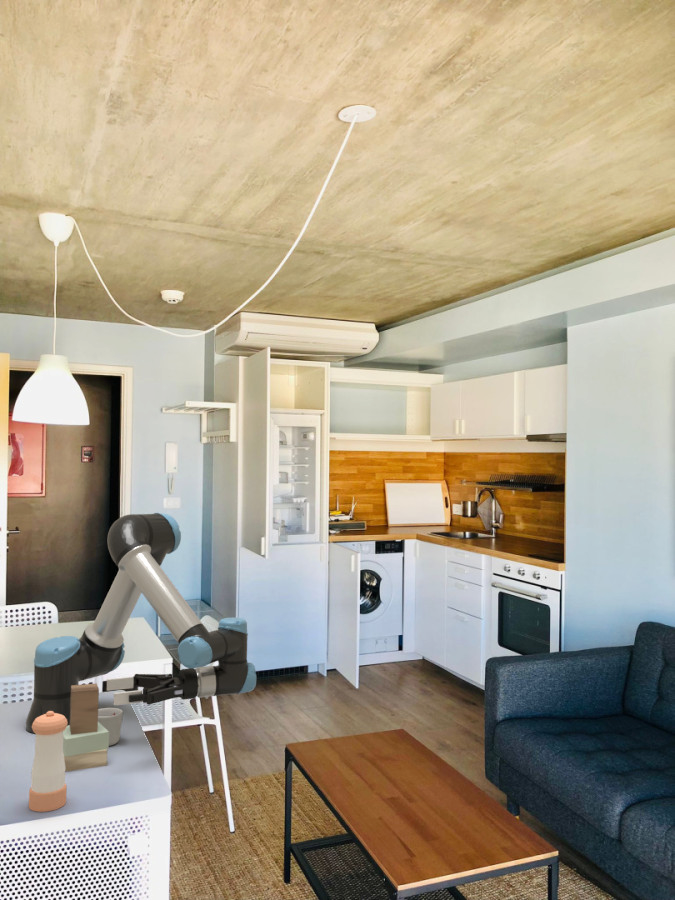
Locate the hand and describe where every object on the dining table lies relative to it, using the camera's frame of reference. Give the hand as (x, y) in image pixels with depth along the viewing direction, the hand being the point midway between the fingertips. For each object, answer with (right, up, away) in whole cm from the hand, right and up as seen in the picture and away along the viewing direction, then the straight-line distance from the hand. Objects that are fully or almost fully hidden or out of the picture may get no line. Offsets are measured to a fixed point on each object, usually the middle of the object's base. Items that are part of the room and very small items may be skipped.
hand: (110, 691), depth 181 cm
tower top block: (-6, -12, -2) cm, 14 cm away
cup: (-5, -17, +10) cm, 20 cm away
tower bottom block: (-6, -16, -3) cm, 18 cm away
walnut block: (-6, -8, -2) cm, 10 cm away
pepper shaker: (-5, -15, -27) cm, 31 cm away
